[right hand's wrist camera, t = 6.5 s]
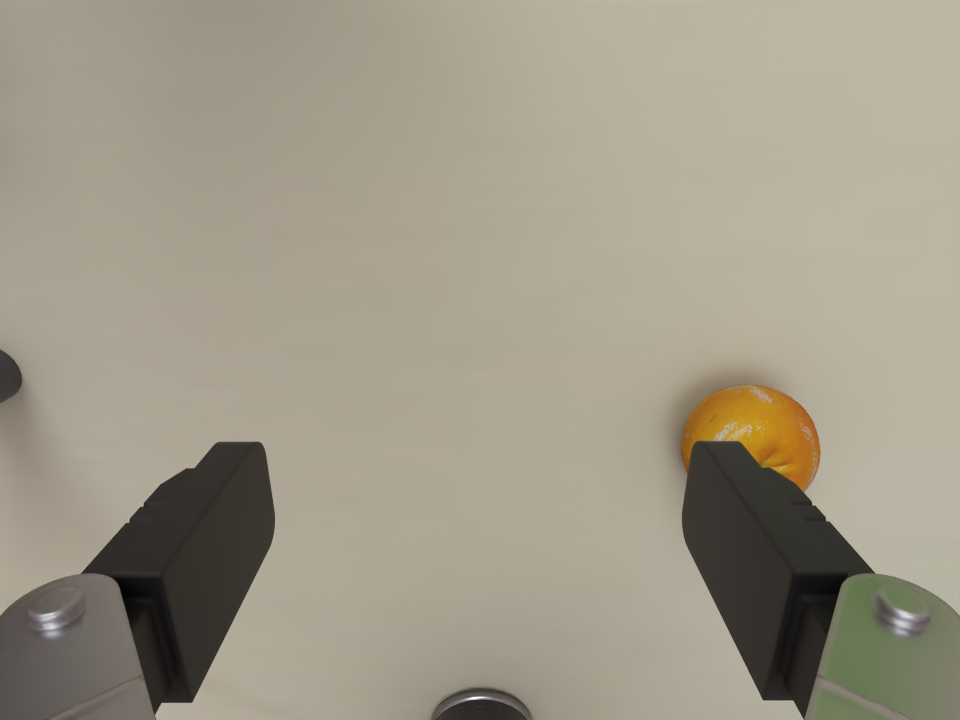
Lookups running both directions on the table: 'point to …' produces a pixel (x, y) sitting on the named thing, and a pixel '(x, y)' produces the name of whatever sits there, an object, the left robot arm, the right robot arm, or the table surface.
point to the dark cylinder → (8, 377)
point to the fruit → (758, 430)
